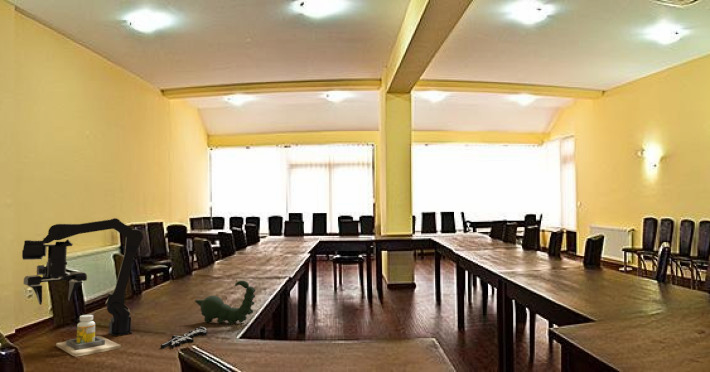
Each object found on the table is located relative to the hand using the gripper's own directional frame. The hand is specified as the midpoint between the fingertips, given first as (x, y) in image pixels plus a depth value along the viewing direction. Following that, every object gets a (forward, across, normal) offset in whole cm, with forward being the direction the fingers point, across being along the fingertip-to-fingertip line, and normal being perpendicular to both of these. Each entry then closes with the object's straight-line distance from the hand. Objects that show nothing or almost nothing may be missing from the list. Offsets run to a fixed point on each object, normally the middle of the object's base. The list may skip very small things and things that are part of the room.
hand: (55, 302), depth 174 cm
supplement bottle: (+12, -4, +19) cm, 23 cm away
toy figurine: (+13, -57, +20) cm, 62 cm away
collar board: (+13, -5, +19) cm, 24 cm away
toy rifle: (+14, -34, +32) cm, 48 cm away
